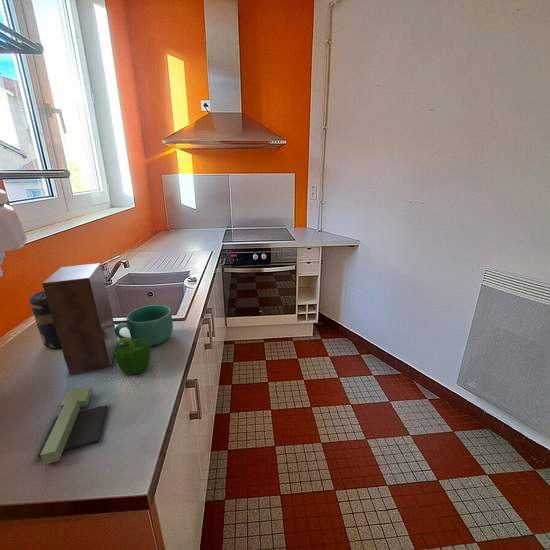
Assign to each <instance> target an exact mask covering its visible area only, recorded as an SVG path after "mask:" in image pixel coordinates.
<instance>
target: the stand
mask: <svg viewBox="0 0 550 550" xmlns="http://www.w3.org/2000/svg"><path fill="white" fill-rule="evenodd" d="M41 285H42V288H43V291H44V292H45V295H46V298H47V302H48V305H49V308H50V312H51V315H52V318H53V322H54V325H55V328H56V332H57V335H58V338H59V342H60V345H61V347H60V348H61V351H62V355H63V358H64V361H65V365H66V367H67V372H68V375H72V374H73V375H74V374H77V373H83V372H89V371H94V370H98V369H105V368H109V367H111V366H112V363H113V359H114V358H115V348H116V346H118V343H119V338H118V337H117V336H116V334H115V328H116V326H115V321H114V317H113V313H112V312H113V311H112V308H111V307H112V306H111V303H110V300H109V294H108V290H107V286H106V281H105V277H104V272H103V269H102V265H101V263H100V262H97V263H89V264H80V265H69V266H61V267H59V268H58V269H57V270H56V271H55V272H54V273H52V274H51V275H50V276H49V277H48V278H47V279H45V280H44V281H43V282H42V283H41Z"/></svg>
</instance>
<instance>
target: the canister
mask: <svg viewBox="0 0 550 550" xmlns="http://www.w3.org/2000/svg"><path fill="white" fill-rule="evenodd" d="M29 304H30V307H31V310H32V313H33V315H34V319H35V322H36V326H37V329H38V332H39V334H40V337H41V341H42V344H43V346H44V347H46V348H49V349H57V348H61V345H60V342H59V338H58V335H57V332H56V328H55V325H54V322H53V318H52V315H51V312H50V308H49V305H48V302H47V298H46V295H45V292H44V290H41V291H38V292H36V293H34V294H32V295H31V296H30V297H29Z"/></svg>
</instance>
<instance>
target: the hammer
mask: <svg viewBox="0 0 550 550" xmlns="http://www.w3.org/2000/svg"><path fill="white" fill-rule="evenodd" d="M92 394H93V389H92V386H86V387H82V388H76V389H71V390H67V391H66V393H65V395H64V397H63V399H62V401H61V402H60V405H59V408H60V410H61V411H60V413H59V415H58V416H59V417H58V416H57V417H58V419H57V421H56V423H55V425H54V427H53V429H52V431H51V434H50V436H49V438H48V440H47V442H46V444H45V446H44V448H43V450H42V452H41V454H40V456H41V457H40V458H41V461H42V463H43V465H48V464H53V463H57V462H59V461H60V459H61V457H62V454H63V452H64V451H63V450H64V447H65V445H66V442H67V440H68V437H69V435H70V432H71V430H72V427H73V425H74V422H75V420H76V417H77V415H78V412H79V411H81V408H84V407H87V406H88V404H89V402H90V399H91V397H92Z"/></svg>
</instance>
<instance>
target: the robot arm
mask: <svg viewBox="0 0 550 550" xmlns="http://www.w3.org/2000/svg"><path fill="white" fill-rule="evenodd" d="M8 201H9V196H8V194H7V192H6V191H4V190H3V189H0V278H2V277H3V275H4V273H3V270H2V267H1V266H2V265H3V263H4V259H5V257H6V253H5V252H11V251H17V250H19V249H22V248H23V247H24V246H25V245H26V243H27V241H28V240H27V236H26V232H25V229H24V227H23V224H22V222H21V219H20V217H19V216H18V213H17V212H16V210H15V209H14V208H12V207H11V206H10V205H7V204H6V203H8Z"/></svg>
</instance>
